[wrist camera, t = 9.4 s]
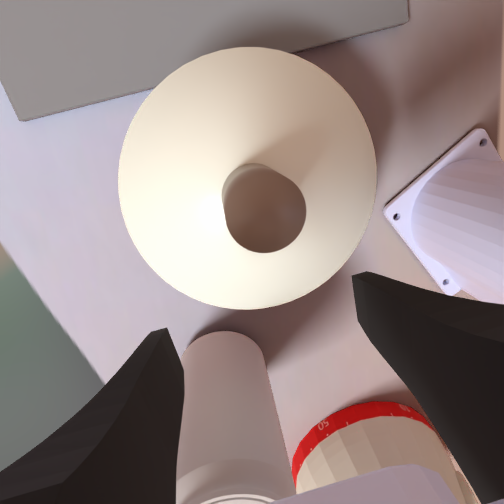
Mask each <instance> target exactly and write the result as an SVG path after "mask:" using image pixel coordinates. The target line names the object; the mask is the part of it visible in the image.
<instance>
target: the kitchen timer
mask: <svg viewBox="0 0 504 504" xmlns="http://www.w3.org/2000/svg"><path fill="white" fill-rule="evenodd" d="M406 464H416V465H420V466H422V467H425V468H428V469H430V470H433V471H436V472H438V473H439V474H440V475H441V477H442V478H443V480H444V481H445V483H446V484H447V486H448V487H449V489H450V490H451V492H452V493H453V495H454V496H455V498H456V499H457V500H458V502H459V503H460V504H478V502H477V500H476V498H475V496H474V494H473V492H472V490H471V489H470V487H469V485H468V483H467V482H466V480H465V478H464V477H463V475H462V474H461V473H460V472H459V471H455V468H454V466H453V464H452V461H451V459H450V457H449V456H448V454H447V452H446V450H445V448H444V446H443V445H442V443H441V441H440V439H439V438H438V436H437V434H436V433H435V431H434V430H433V429H432V427H431V426H430V425H429V423H428V422H427V421H426V419H425V418H424V417H423V416H422V415H421V414H419V413H418V412H417V411H415V410H414V409H413V408H411V407H408V406H405V405H402V404H399V403H395V402H379V401H372V402H367V403H362V404H357V405H352V406H350V407H347V408H345V409H343V410H340V411H338V412H336V413H333V414H331V415H330V416H328V417H327V418H325V419H324V420H323V421H321V422H320V423H318V424H317V425H316V426H314V427H313V428H312V429H311V430H310V431H309V433H308V434H307V435H306V436H305V437H304V438H303V440H302V441H301V442H300V444H299V446H298V448H297V450H296V452H295V455H294V457H293V462H292V476H293V480H294V484H295V488H296V493H297V494H300V493H303V492H306V491H309V490H313V489H316V488H319V487H323V486H326V485H329V484H332V483H336V482H339V481H342V480H346V479H349V478H352V477H356V476H359V475H362V474H365V473H369V472H372V471H375V470H379V469H382V468H385V467H388V466H397V465H406Z"/></svg>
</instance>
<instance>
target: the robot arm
mask: <svg viewBox="0 0 504 504" xmlns="http://www.w3.org/2000/svg"><path fill="white" fill-rule="evenodd" d="M481 140H482V144H481V146H480V144H479V143H480V141H481ZM383 213H384V216H385V217H386V218H387V219H388V221H389V222H390V223H391V225H392V226H393V227H394V228H395V230H396V231H397V232H398V234H399V235H400V236H401V238H402V239H403V240H404V241H405V243H406V244H407V245H408V247H409V248H410V249H411V250H412V252H413V253H414V254H415V256H416V257H417V258H418V260H419V261H420V262H421V263H422V265H423V266H424V267H425V269H426V270H427V271H428V272H429V274H430V275H431V276H432V278H433V279H434V280H435V282H436V283H437V284H438V285H439V287H440V288H441V289H442V291H443V292H444V293H445V294H447V295H445V294H441V293H437V292H434V291H430V290H426V289H422V288H419V287H416V286H412V285H409V284H406V283H403V282H400V281H397V280H394V279H391V278H388V277H385V276H382V275H378V274H375V273H372V272H367V271H366V272H363V273H359V274H356V275H352V283H353V290H354V297H355V304H356V311H357V318H358V322H359V323H360V325H361V327H362V328H363V330H364V332H365V333H366V335H367V337H368V338H369V340H370V341H371V343H372V344H373V345H374V346H375V348H376V349H377V350H378V351H379V353H380V354H381V355H382V356H383V358H384V359H385V360H386V361H387V362H388V364H389V365H390V366H391V367H392V369H393V370H394V371H395V372H396V373H397V375H398V376H399V377H400V378H401V379H402V381H403V382H404V383H405V384H406V386H407V387H408V388H409V389H410V391H411V392H412V393H413V395H414V396H415V397H416V399H417V400H418V402H419V403H420V405H421V406H422V408H423V409H424V411H425V412H426V414H427V415H428V417H429V418H430V420H431V421H432V423H433V425H434V426H435V428H436V429H437V431H438V432H439V434H440V436H441V437H442V439H443V440H444V442H445V444H446V445H447V447H448V448H449V450H450V451H451V453H452V455H453V456H454V458H455V460H456V461H457V463H458V465H459V466H460V468H461V470H462V471H463V473H464V475H465V476H466V478H467V480H468V481H469V483H470V485H471V486H472V488H473V490H474V492H475V493H476V495H477V497H478V499H479V500H480V502H481V504H504V162H503V161H502V159H501V157H500V156H499V154H498V152H497V150H496V148H495V147H494V145H493V143H492V141H491V139H490V138H489V136H488V134H487V132H486V131H485V130H484V129H482V128H477V129H474V130H472V131H471V132H470V133H469V134H468V135H467V136H466V137H464V138H463V139H462V140H461V141H460V142H459V143H457V144H456V145H455V146H454V147H453V148H452V149H451V150H449V151H448V152H447V153H446V154H445V155H444V156H442V157H441V158H440V159H439V160H438V161H437V162H436V163H434V164H433V165H432V166H431V167H430V168H429V169H428V170H426V171H425V172H424V173H423V174H422V175H421V176H419V177H418V178H417V179H416V180H415V181H414V182H413V183H411V184H410V185H409V186H408V187H407V188H406V189H404V190H403V191H402V192H401V193H400V194H399V195H398V196H396V197H395V198H394V199H393V200H392V201H391V202H390V203H388V204H387V205H386V206H385V207H384V210H383ZM396 213H397V217H396V218H395V219H393V216H394V214H396ZM445 279H446V281H445V282H443V281H444V280H445ZM461 289H462V290H464V291H465V292H467V293H468V294H470V295H472V296H473V297H475V298H476V299H478V300H480V301H476V300H470V299H465V298H460V297H454V296H452V295H454V294H456V293H457V292H458V291H460V290H461ZM184 396H185V384H184V369H183V366H182V364H181V361H180V359H179V356H178V354H177V351H176V349H175V346H174V344H173V342H172V339H171V337H170V334H169V332H168V329H167V328H164V329H160V330H157V331H153V332H151V333H150V334H149V335H148V336H147V337H146V338H145V339H144V340H143V342H142V343H141V344H140V345H139V346H138V348H137V349H136V350H135V351H134V353H133V354H132V355H131V356H130V357H129V359H128V360H127V361H126V362H125V363H124V365H123V366H122V367H121V368H120V369H119V370H118V372H117V373H116V374H115V375H114V376H113V377H112V378H111V379H110V380H109V382H108V383H107V384H106V385H105V386H104V387H103V388H102V389H101V390H100V391H99V392H98V394H96V395H95V396H94V397H93V398H92V399H91V400H90V401H89V402H88V403H87V404H86V405H85V406H84V407H83V408H82V409H81V410H80V411H79V412H78V413H76V414H75V415H74V416H73V417H72V418H71V419H70V420H68V421H67V422H66V423H65V424H63V425H62V426H61V427H60V428H59V429H57V430H56V431H55V432H54V433H53V434H51V435H50V436H49V437H48V438H47V439H45V440H44V441H43V442H42V443H40V444H39V445H37V446H36V447H35V448H34V449H32V450H31V451H30V452H28V453H27V454H25V455H24V456H23V457H21V458H20V459H18V460H17V461H15V462H14V463H13V464H11V465H10V466H8V467H7V468H5V469H4V470H2V471H1V472H0V504H176V471H177V456H178V447H179V439H180V431H181V423H182V414H183V405H184ZM268 504H460V503H459V502H458V500H457V499H456V498H455V496H454V495H453V493H452V492H451V490H450V489H449V487H448V486H447V484H446V483H445V481H444V480H443V478H442V477H441V475H440V474H439V473H438V472H436V471H433V470H430V469H428V468H425V467H422V466H420V465H416V464H406V465H397V466H388V467H385V468H382V469H379V470H375V471H372V472H369V473H365V474H362V475H359V476H356V477H352V478H349V479H346V480H342V481H339V482H336V483H332V484H329V485H326V486H323V487H319V488H316V489H313V490H309V491H306V492H303V493H300V494H296V495H293V496H290V497H286V498H283V499H280V500H276V501H273V502H270V503H268Z"/></svg>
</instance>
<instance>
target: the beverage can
mask: <svg viewBox="0 0 504 504" xmlns="http://www.w3.org/2000/svg"><path fill="white" fill-rule="evenodd" d="M180 361H181V364H182V366H183V369H184V384H185V396H184V405H183V414H182V423H181V431H180V439H179V447H178V456H177V471H176V504H268V503H270V502H273V501H276V500H280V499H283V498H286V497H290V496H293V495H296V488H295V484H294V480H293V476H292V472H291V468H290V463H289V459H288V455H287V451H286V447H285V443H284V439H283V435H282V431H281V426H280V422H279V418H278V414H277V410H276V406H275V402H274V398H273V393H272V389H271V385H270V381H269V377H268V373H267V369H266V365H265V361H264V357H263V354H262V351H261V350H260V348H259V346H258V345H257V344H256V343H255V342H254V341H253V340H251V339H250V338H249V337H247V336H245V335H243V334H240V333H236V332H231V331H218V332H213V333H209V334H206V335H204V336H202V337H200V338H198V339H196V340H195V341H194V342H192V343H191V344H190V345H189V346H188V348H187V349H186V350H185V352H184V353H183V355H182V357H181V360H180Z"/></svg>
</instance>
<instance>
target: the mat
mask: <svg viewBox="0 0 504 504" xmlns="http://www.w3.org/2000/svg"><path fill="white" fill-rule="evenodd" d="M407 22H408V3H407V0H0V81H1V83H2V85H3V87H4V89H5V92H6V94H7V96H8V98H9V100H10V102H11V104H12V106H13V109H14V111H15V113H16V115H17V117H18V119H19V121H29V120H33V119H37V118H41V117H44V116H48V115H52V114H56V113H60V112H64V111H68V110H72V109H76V108H80V107H84V106H87V105H91V104H95V103H99V102H103V101H107V100H111V99H115V98H119V97H123V96H126V95H130V94H134V93H138V92H142V91H146V90H150V89H154V88H155V87H157V86H158V85H159V84H160V83H161V82H162V81H163V80H164V79H165V78H166V77H167V76H168V75H170V74H171V73H173V72H174V71H176V70H177V69H179V68H180V67H181V66H183V65H184V64H186V63H188V62H191V61H193V60H195V59H197V58H199V57H201V56H203V55H206V54H210V53H213V52H216V51H219V50H224V49H231V48H237V47H263V48H269V49H275V50H280V51H283V52H287V53H294V52H298V51H302V50H306V49H310V48H314V47H318V46H322V45H326V44H330V43H333V42H337V41H341V40H345V39H349V38H353V37H357V36H361V35H365V34H369V33H372V32H376V31H380V30H384V29H388V28H392V27H396V26H400V25H403V24H405V23H407Z"/></svg>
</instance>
